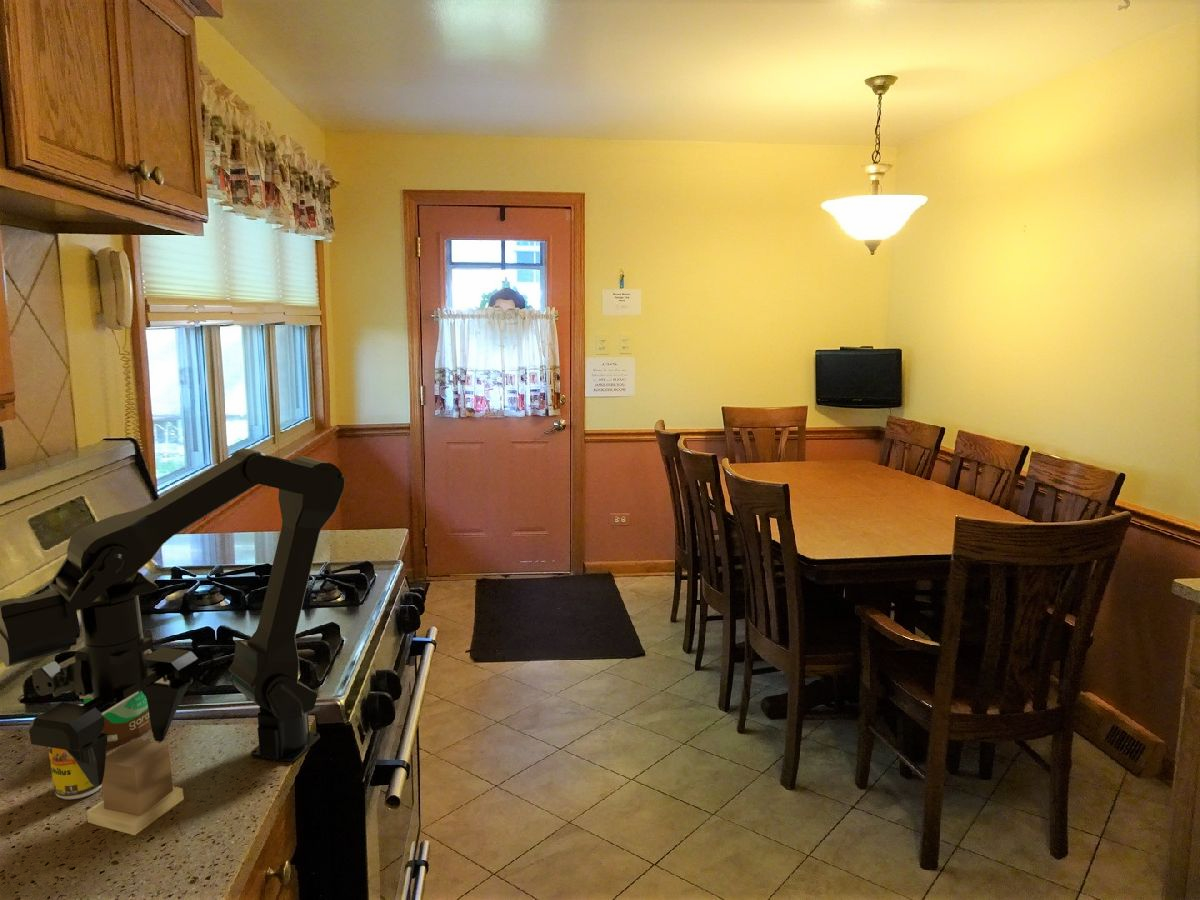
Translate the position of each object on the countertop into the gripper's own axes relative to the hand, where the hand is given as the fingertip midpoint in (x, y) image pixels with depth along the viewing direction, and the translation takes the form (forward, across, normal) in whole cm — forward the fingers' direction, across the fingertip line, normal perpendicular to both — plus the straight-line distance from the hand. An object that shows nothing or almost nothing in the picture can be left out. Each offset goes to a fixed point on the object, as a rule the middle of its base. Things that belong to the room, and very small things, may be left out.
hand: (129, 761), depth 96 cm
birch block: (+7, 0, 0) cm, 7 cm away
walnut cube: (+5, 0, 0) cm, 5 cm away
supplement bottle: (+7, -2, -10) cm, 12 cm away
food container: (+7, -15, -14) cm, 22 cm away
